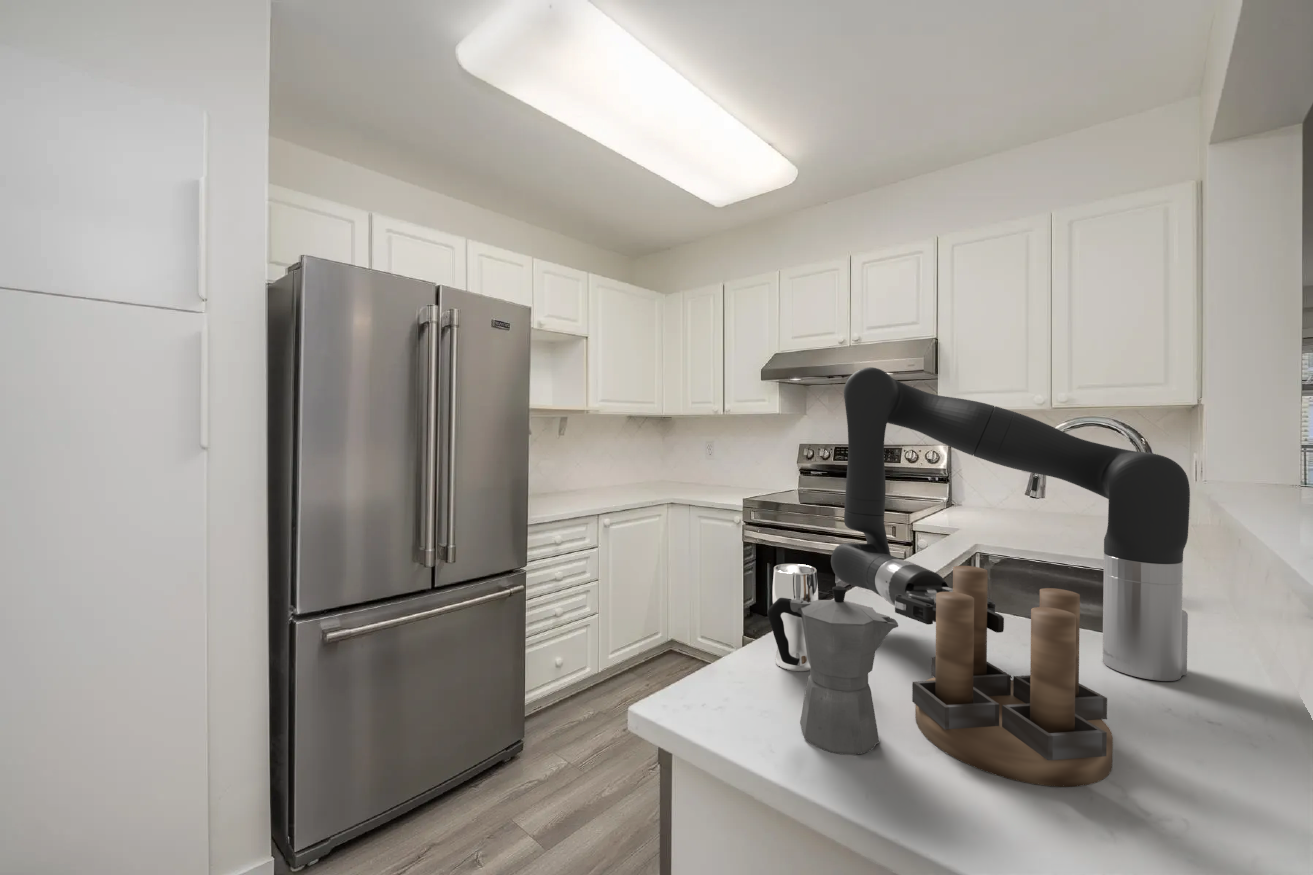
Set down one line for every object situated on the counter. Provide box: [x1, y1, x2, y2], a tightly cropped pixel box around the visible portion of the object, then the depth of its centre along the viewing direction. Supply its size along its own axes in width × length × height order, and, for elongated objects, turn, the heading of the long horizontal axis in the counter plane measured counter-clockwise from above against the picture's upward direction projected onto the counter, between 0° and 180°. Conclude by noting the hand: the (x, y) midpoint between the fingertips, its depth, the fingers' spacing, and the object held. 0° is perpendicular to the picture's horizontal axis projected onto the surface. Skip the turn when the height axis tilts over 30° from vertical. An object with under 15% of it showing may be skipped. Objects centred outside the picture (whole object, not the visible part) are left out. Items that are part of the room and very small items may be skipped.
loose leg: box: [952, 565, 989, 676], centre depth 75 cm, size 4×4×14 cm
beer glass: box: [772, 563, 819, 672], centre depth 89 cm, size 7×7×15 cm
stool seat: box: [911, 587, 1114, 788], centre depth 69 cm, size 20×20×17 cm
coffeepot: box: [767, 585, 899, 756], centre depth 69 cm, size 15×9×18 cm, turn 62°
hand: (984, 625), depth 73 cm, fingers closed on loose leg, 4 cm apart
